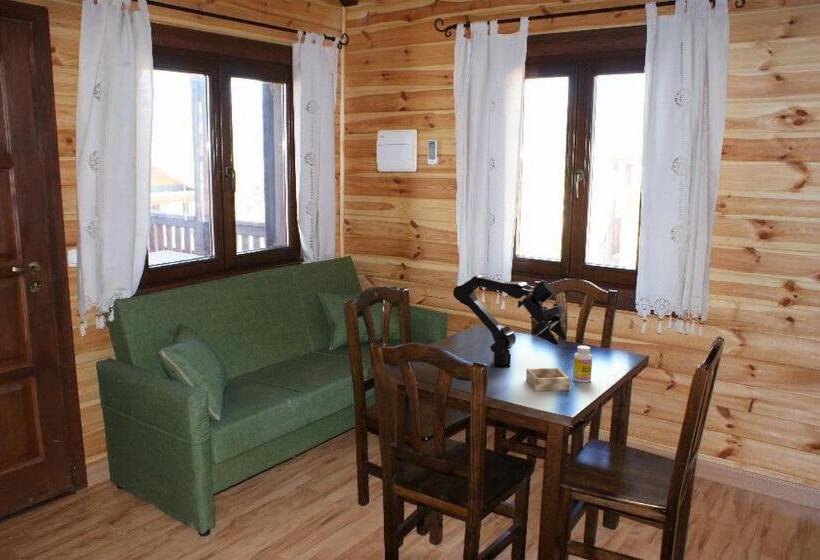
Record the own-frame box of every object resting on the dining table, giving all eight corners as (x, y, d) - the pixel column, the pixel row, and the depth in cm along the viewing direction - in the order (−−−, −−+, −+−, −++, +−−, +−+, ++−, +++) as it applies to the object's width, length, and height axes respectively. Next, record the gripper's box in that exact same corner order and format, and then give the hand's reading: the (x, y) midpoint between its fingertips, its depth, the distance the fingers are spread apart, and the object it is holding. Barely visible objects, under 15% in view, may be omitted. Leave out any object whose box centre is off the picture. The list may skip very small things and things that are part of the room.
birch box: (535, 391, 250) (536, 379, 249) (526, 380, 262) (526, 368, 261) (569, 390, 251) (569, 378, 251) (558, 379, 264) (558, 367, 263)
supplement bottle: (580, 383, 259) (582, 350, 257) (568, 378, 265) (570, 345, 262) (594, 381, 262) (596, 348, 260) (582, 376, 268) (584, 343, 266)
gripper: (541, 301, 258) (568, 334, 254) (559, 293, 273) (585, 324, 269) (520, 319, 263) (547, 352, 259) (539, 310, 279) (564, 341, 275)
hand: (561, 341), depth 265 cm, fingers open, 9 cm apart
